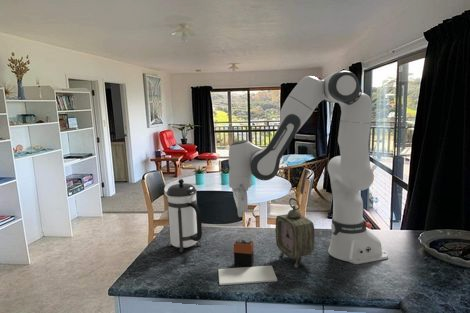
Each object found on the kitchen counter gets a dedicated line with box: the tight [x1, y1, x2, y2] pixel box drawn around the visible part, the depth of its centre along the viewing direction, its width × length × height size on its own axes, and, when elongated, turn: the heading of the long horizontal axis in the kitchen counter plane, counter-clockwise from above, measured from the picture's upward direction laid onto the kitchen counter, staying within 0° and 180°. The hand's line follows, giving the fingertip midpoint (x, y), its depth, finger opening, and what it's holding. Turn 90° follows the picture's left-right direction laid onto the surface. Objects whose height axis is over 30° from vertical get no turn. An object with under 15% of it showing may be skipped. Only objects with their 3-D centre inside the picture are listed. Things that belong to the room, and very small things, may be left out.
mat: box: [218, 265, 278, 286], centre depth 116 cm, size 20×10×1 cm, turn 95°
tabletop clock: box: [275, 197, 315, 269], centre depth 125 cm, size 14×9×25 cm, turn 22°
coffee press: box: [165, 178, 203, 254], centre depth 140 cm, size 17×16×30 cm
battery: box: [233, 238, 255, 268], centre depth 124 cm, size 4×7×10 cm, turn 75°
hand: (240, 215), depth 129 cm, fingers closed
